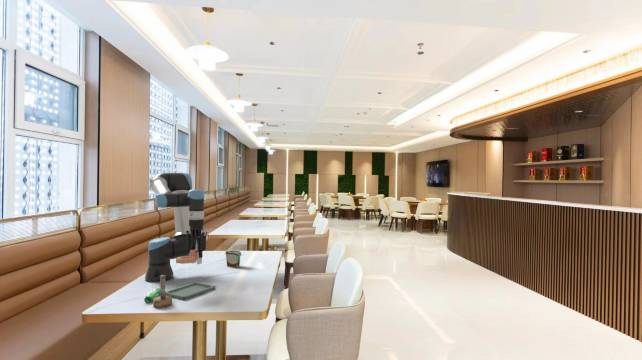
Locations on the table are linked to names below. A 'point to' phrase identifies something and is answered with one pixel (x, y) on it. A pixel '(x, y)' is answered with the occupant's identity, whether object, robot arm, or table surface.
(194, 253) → the ring
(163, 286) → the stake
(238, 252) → the food container
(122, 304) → the table surface
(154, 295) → the candy
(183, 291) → the tray
